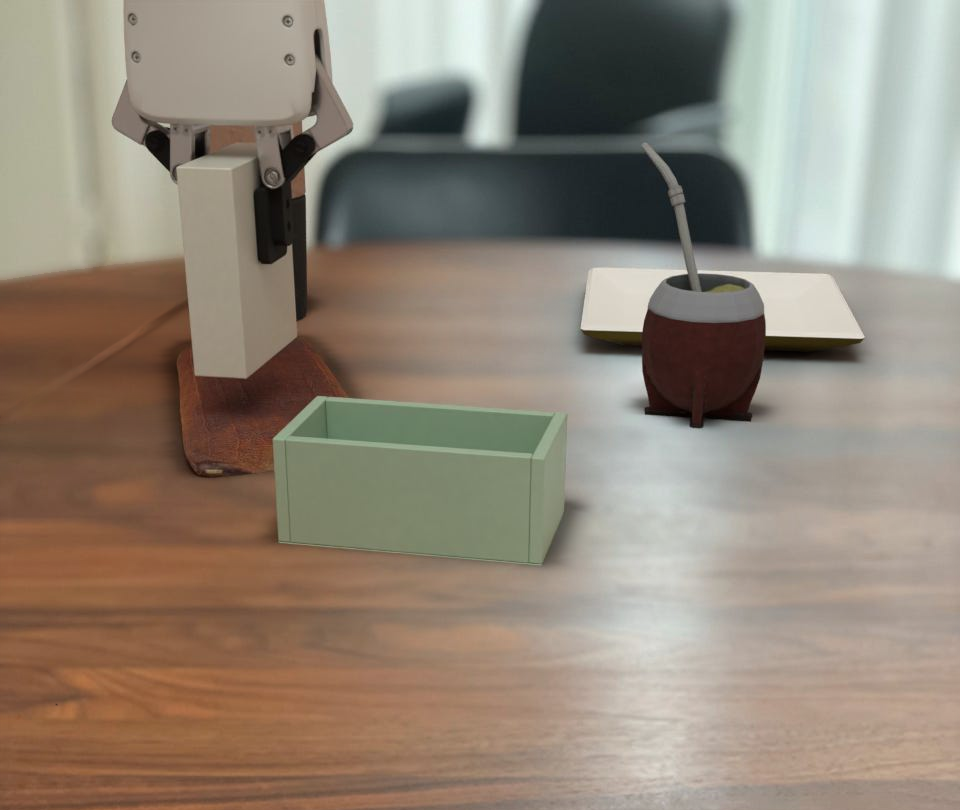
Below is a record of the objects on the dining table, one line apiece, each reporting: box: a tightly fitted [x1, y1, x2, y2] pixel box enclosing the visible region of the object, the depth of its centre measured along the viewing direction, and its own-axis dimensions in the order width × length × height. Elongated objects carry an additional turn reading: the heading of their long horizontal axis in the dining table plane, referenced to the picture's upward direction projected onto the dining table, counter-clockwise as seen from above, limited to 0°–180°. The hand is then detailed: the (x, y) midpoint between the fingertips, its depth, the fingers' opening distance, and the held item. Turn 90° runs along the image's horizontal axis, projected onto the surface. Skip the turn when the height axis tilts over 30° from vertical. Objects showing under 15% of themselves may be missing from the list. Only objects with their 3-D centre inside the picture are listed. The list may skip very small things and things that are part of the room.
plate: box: [580, 267, 866, 353], centre depth 107 cm, size 19×19×2 cm
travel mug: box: [210, 120, 308, 321], centre depth 106 cm, size 8×8×20 cm
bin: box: [273, 396, 568, 566], centre depth 70 cm, size 12×7×6 cm, turn 78°
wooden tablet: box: [176, 337, 349, 478], centre depth 89 cm, size 27×10×2 cm, turn 12°
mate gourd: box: [641, 141, 766, 429], centre depth 85 cm, size 8×8×15 cm
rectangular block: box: [176, 142, 298, 379], centre depth 83 cm, size 9×3×11 cm, turn 168°
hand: (240, 254), depth 83 cm, fingers closed on rectangular block, 3 cm apart
